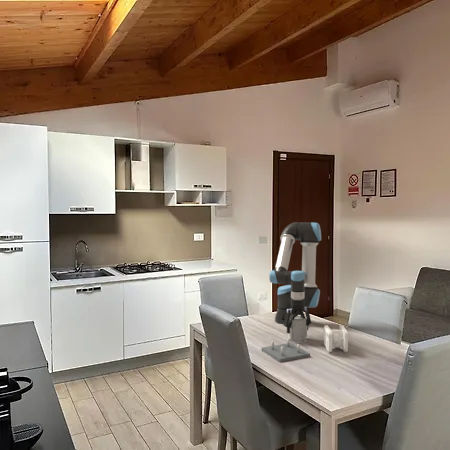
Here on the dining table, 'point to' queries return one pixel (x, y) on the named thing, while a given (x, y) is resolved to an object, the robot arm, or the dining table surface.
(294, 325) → the gray cylinder
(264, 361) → the dining table surface
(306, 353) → the pin tray
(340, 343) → the cable organizer
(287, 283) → the robot arm
